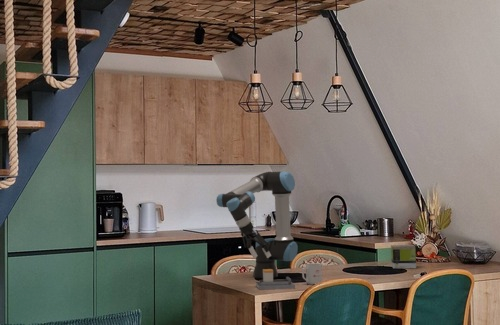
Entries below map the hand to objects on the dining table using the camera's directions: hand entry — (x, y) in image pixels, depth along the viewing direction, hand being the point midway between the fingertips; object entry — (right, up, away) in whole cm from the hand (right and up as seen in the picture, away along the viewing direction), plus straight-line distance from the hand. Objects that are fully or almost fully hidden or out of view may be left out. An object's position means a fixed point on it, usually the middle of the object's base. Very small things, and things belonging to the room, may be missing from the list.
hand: (262, 257), depth 384 cm
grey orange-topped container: (+3, -15, +4) cm, 16 cm away
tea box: (+95, -17, +74) cm, 121 cm away
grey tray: (+7, -17, +4) cm, 19 cm away
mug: (+28, -17, +13) cm, 36 cm away
